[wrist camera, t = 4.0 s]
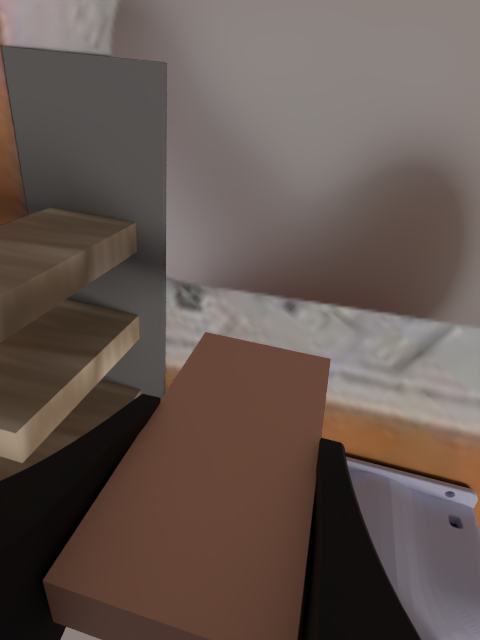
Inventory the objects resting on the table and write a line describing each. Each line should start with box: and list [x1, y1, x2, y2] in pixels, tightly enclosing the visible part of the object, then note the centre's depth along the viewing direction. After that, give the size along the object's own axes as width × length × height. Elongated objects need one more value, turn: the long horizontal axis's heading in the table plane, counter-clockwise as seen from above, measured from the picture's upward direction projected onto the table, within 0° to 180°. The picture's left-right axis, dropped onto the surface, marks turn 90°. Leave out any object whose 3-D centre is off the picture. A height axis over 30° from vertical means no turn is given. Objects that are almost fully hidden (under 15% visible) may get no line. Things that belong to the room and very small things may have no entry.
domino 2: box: [0, 300, 139, 463], centre depth 21 cm, size 2×5×10 cm, turn 85°
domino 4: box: [43, 332, 330, 640], centre depth 12 cm, size 2×5×10 cm, turn 85°
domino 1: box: [0, 208, 137, 343], centre depth 18 cm, size 2×5×10 cm, turn 85°
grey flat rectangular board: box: [2, 46, 167, 399], centre depth 25 cm, size 8×26×1 cm, turn 175°
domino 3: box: [0, 380, 141, 481], centre depth 23 cm, size 2×5×10 cm, turn 85°
